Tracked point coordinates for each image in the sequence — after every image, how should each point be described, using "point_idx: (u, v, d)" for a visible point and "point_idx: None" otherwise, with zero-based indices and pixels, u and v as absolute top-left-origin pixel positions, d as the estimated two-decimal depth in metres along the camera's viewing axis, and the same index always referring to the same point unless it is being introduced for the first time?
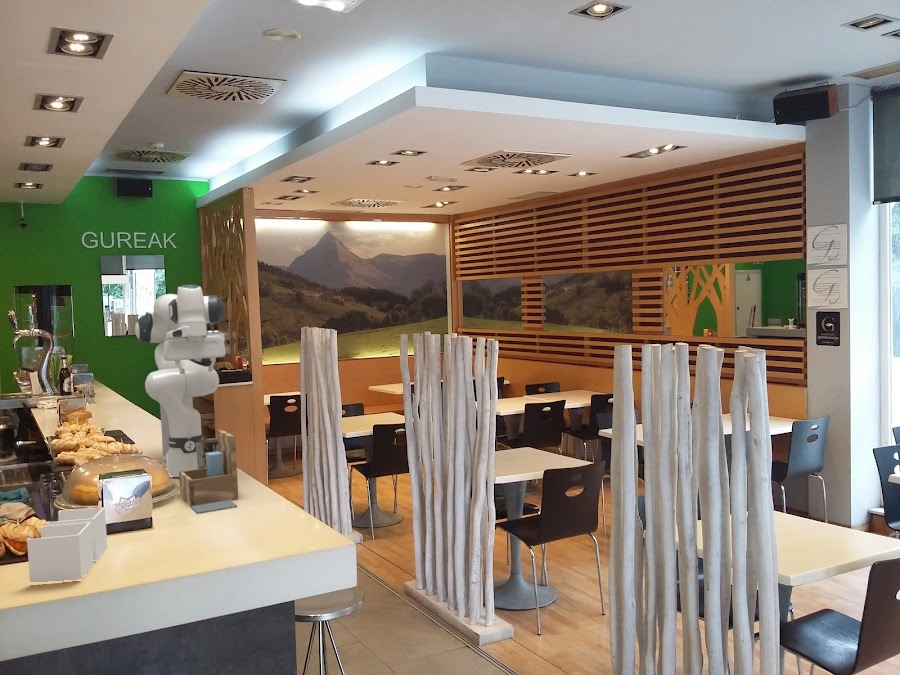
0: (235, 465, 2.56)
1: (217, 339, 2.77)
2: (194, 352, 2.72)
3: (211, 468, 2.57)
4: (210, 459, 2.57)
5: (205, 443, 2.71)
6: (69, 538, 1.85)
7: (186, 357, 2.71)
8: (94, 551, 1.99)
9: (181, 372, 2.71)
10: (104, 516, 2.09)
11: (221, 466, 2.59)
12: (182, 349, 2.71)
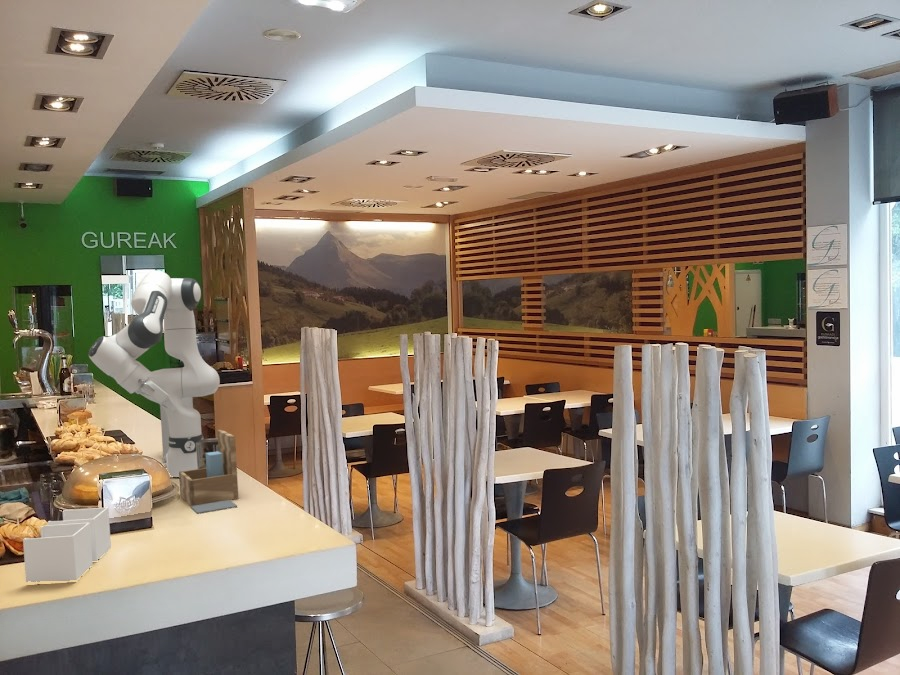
0: (235, 465, 2.56)
1: (144, 392, 2.42)
2: (150, 398, 2.50)
3: (211, 468, 2.57)
4: (210, 459, 2.57)
5: (205, 443, 2.71)
6: (64, 539, 1.84)
7: None
8: (94, 551, 1.99)
9: (165, 407, 2.57)
10: (107, 516, 2.09)
11: (221, 466, 2.59)
12: (145, 395, 2.53)
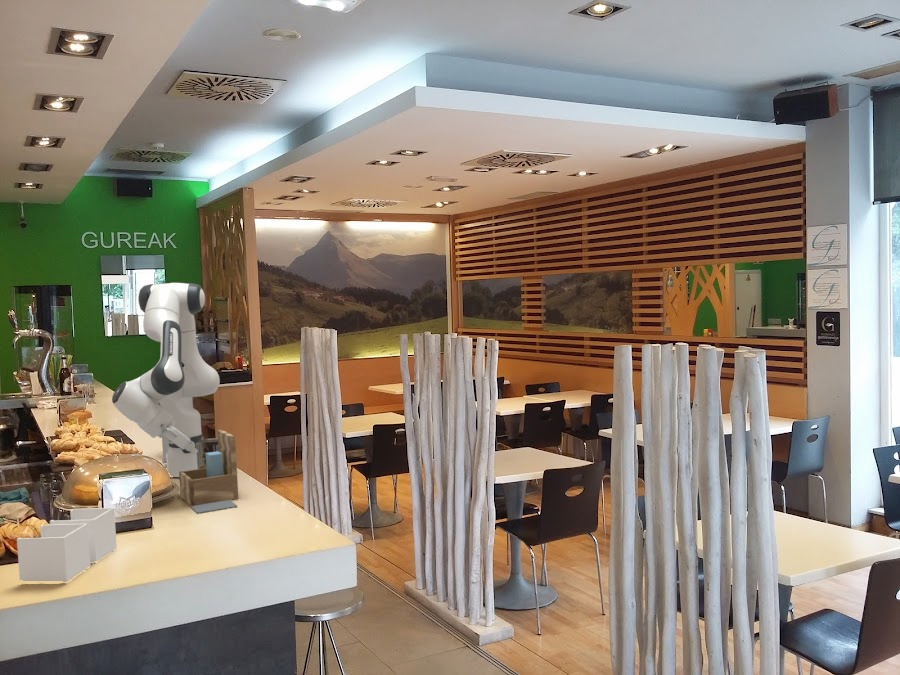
0: (235, 465, 2.56)
1: (167, 437, 2.45)
2: (171, 441, 2.54)
3: (211, 468, 2.57)
4: (210, 459, 2.57)
5: (205, 443, 2.71)
6: (55, 540, 1.84)
7: None
8: (94, 552, 1.98)
9: (186, 449, 2.61)
10: (113, 517, 2.08)
11: (221, 466, 2.59)
12: (166, 437, 2.57)
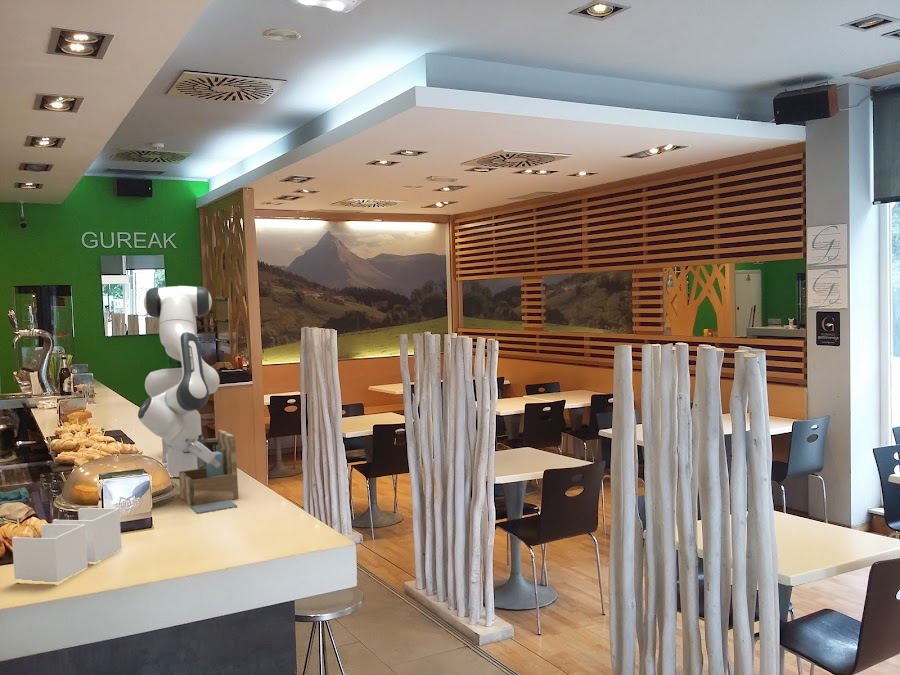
0: (235, 465, 2.56)
1: (192, 452, 2.49)
2: None
3: (211, 468, 2.57)
4: None
5: (205, 443, 2.71)
6: (46, 541, 1.84)
7: None
8: (93, 553, 1.97)
9: None
10: (117, 518, 2.07)
11: (221, 466, 2.59)
12: (190, 451, 2.61)
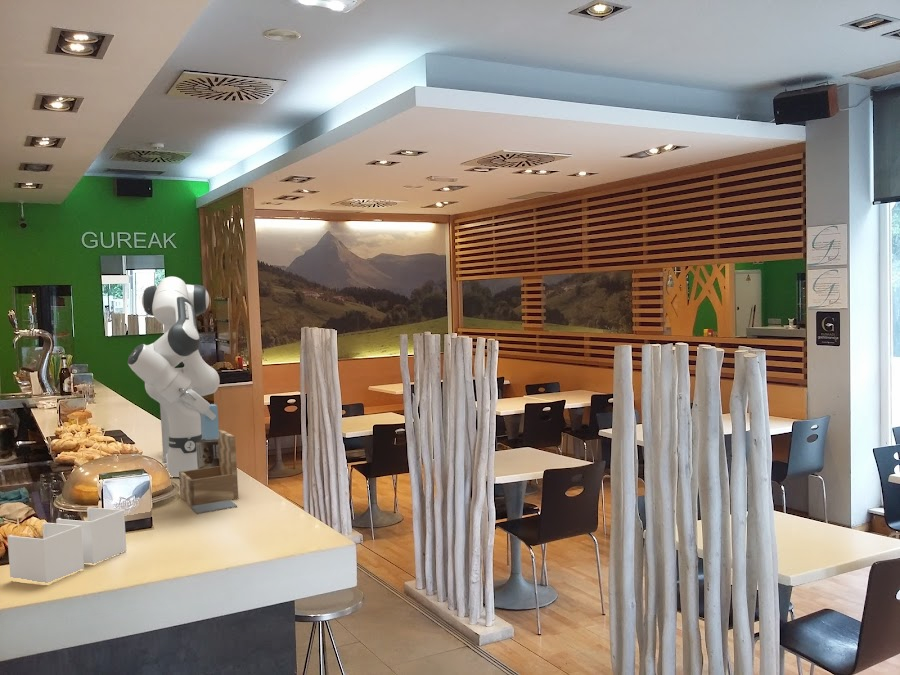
0: (235, 465, 2.56)
1: (185, 401, 2.36)
2: (190, 407, 2.44)
3: (206, 420, 2.44)
4: None
5: (205, 443, 2.71)
6: (36, 541, 1.84)
7: (191, 409, 2.47)
8: (91, 555, 1.97)
9: None
10: (121, 519, 2.05)
11: (216, 418, 2.45)
12: (184, 403, 2.47)
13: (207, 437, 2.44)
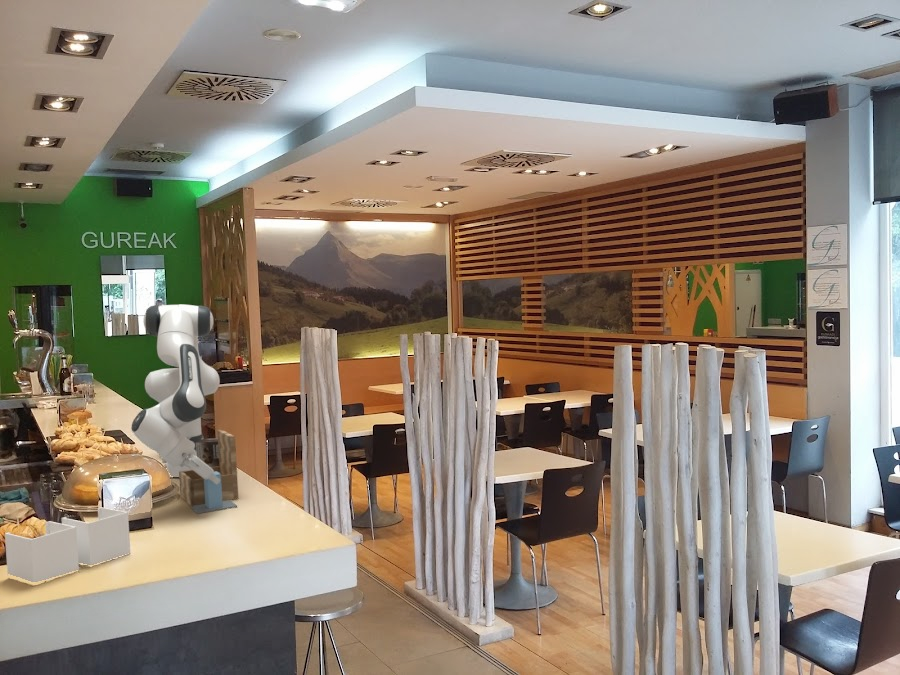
0: (235, 465, 2.56)
1: (189, 467, 2.36)
2: (193, 470, 2.44)
3: (209, 489, 2.44)
4: (208, 480, 2.44)
5: (205, 443, 2.71)
6: (26, 541, 1.84)
7: None
8: (89, 556, 1.95)
9: None
10: (125, 521, 2.03)
11: (220, 487, 2.46)
12: None
13: (210, 506, 2.44)
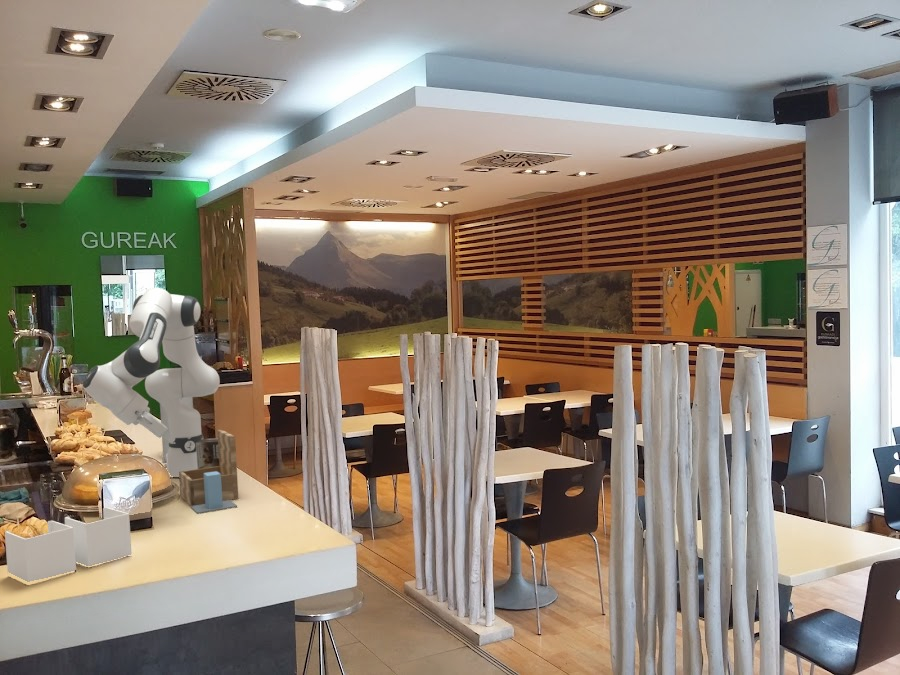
0: (235, 465, 2.56)
1: (141, 424, 2.31)
2: None
3: (209, 489, 2.44)
4: (208, 480, 2.44)
5: (205, 443, 2.71)
6: (21, 540, 1.85)
7: None
8: (87, 557, 1.95)
9: None
10: (126, 523, 2.02)
11: (220, 487, 2.46)
12: None
13: (210, 506, 2.44)
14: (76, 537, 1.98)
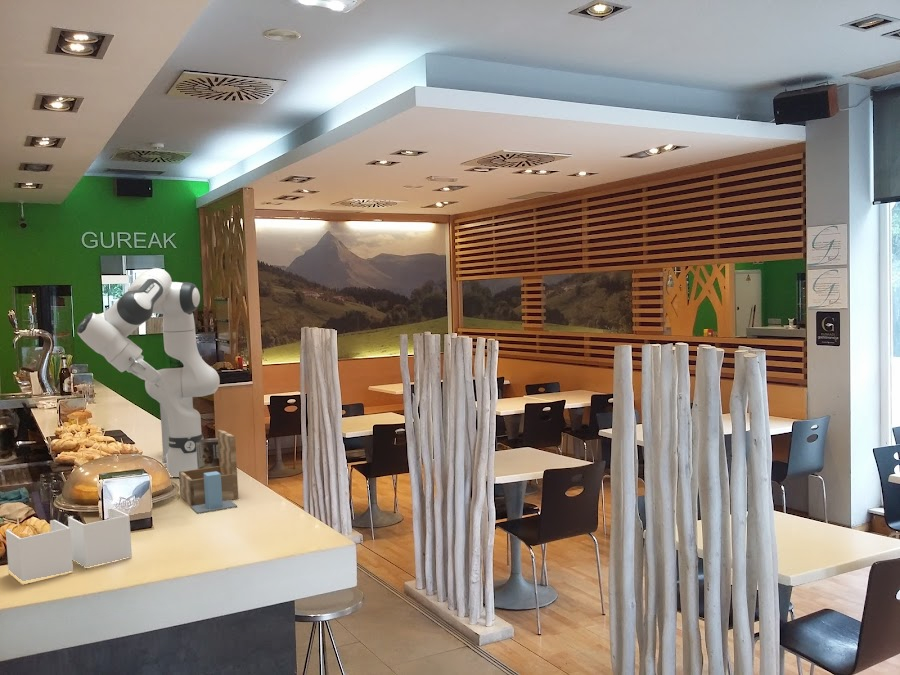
0: (235, 465, 2.56)
1: (135, 370, 2.34)
2: (141, 377, 2.42)
3: (209, 489, 2.44)
4: (208, 480, 2.44)
5: (205, 443, 2.71)
6: (16, 540, 1.85)
7: (144, 379, 2.45)
8: (85, 558, 1.94)
9: (157, 387, 2.49)
10: (126, 524, 2.00)
11: (220, 487, 2.46)
12: (136, 373, 2.45)
13: (210, 506, 2.44)
14: (76, 537, 1.98)
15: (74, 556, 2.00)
